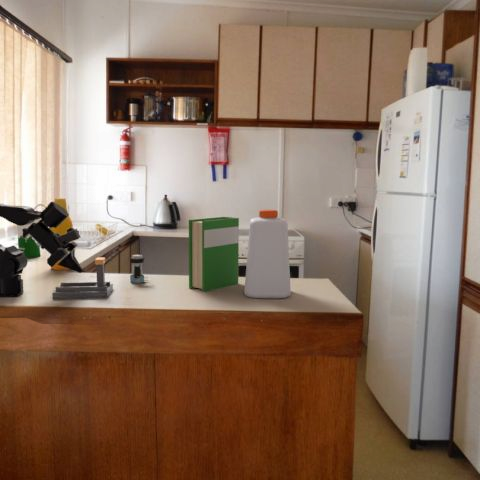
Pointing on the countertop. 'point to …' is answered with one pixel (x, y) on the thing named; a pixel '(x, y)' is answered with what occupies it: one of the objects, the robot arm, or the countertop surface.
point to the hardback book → (213, 252)
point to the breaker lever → (100, 271)
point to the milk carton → (28, 242)
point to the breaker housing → (81, 290)
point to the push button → (137, 269)
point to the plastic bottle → (268, 257)
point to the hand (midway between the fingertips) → (81, 271)
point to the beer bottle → (62, 228)
